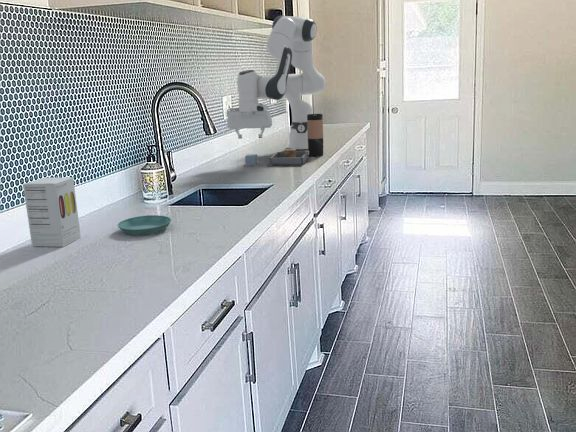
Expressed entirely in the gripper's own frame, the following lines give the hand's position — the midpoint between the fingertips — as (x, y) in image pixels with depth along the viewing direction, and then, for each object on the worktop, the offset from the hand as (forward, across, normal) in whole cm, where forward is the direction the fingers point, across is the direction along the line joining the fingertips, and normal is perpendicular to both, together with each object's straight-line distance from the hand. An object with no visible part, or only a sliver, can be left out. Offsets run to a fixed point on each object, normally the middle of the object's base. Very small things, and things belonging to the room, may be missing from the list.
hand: (250, 138), depth 266 cm
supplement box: (+13, -27, -122) cm, 125 cm away
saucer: (+14, -7, -110) cm, 111 cm away
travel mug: (+12, +27, +24) cm, 38 cm away
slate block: (+12, 0, 0) cm, 12 cm away
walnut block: (+11, +17, +9) cm, 22 cm away
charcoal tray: (+12, +17, +5) cm, 21 cm away
